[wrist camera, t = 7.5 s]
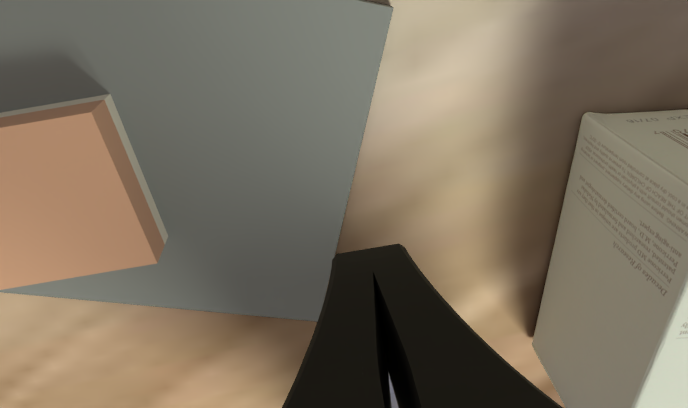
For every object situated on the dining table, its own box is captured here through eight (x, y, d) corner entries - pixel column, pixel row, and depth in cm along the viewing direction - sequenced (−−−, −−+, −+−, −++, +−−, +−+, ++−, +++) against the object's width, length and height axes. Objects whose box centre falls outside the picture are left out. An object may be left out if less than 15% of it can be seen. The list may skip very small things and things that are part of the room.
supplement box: (577, 107, 19) (523, 345, 25) (724, 204, 13) (603, 488, 19) (756, 97, 20) (660, 332, 26) (984, 185, 13) (782, 468, 20)
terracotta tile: (91, 112, 15) (-98, 144, 15) (157, 263, 18) (-1, 290, 19) (110, 93, 17) (-62, 123, 17) (168, 235, 20) (22, 260, 20)
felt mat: (318, 315, 23) (319, 321, 23) (-33, 282, 21) (-38, 288, 21) (391, 5, 17) (393, 7, 16) (-117, -100, 14) (-128, -100, 14)
